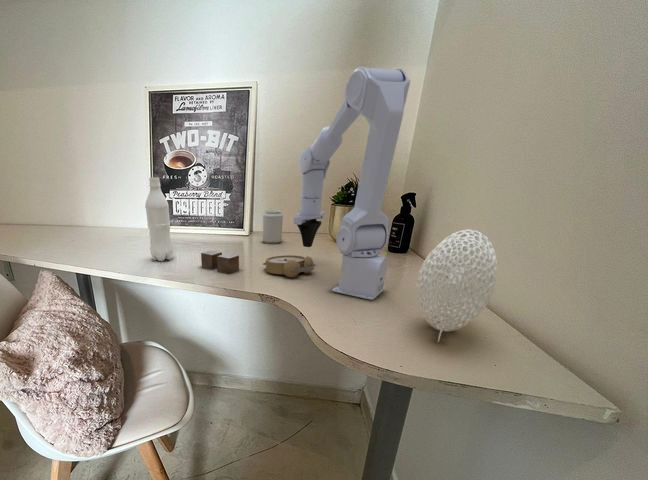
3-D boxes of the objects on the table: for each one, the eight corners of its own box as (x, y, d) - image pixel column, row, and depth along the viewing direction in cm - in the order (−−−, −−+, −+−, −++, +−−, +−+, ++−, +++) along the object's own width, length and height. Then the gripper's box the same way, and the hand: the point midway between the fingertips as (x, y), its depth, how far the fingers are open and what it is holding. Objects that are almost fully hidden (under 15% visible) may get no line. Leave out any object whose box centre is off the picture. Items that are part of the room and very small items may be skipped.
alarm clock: (285, 253, 101) (324, 254, 89) (286, 270, 103) (325, 272, 90) (256, 259, 96) (294, 261, 83) (258, 276, 97) (295, 280, 85)
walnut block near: (239, 270, 97) (239, 255, 95) (229, 273, 94) (229, 258, 92) (227, 267, 99) (227, 253, 98) (217, 271, 96) (217, 256, 94)
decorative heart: (419, 308, 69) (438, 223, 62) (482, 321, 63) (511, 228, 56) (395, 341, 56) (417, 239, 49) (471, 361, 50) (508, 248, 43)
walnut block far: (222, 266, 101) (221, 252, 99) (212, 269, 98) (211, 255, 96) (211, 264, 103) (211, 250, 101) (201, 267, 100) (200, 252, 98)
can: (259, 240, 134) (260, 209, 129) (276, 239, 136) (277, 208, 131) (267, 244, 128) (268, 212, 123) (284, 243, 130) (286, 210, 125)
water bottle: (175, 260, 108) (168, 177, 98) (153, 263, 106) (143, 178, 96) (170, 255, 114) (163, 176, 104) (149, 258, 112) (140, 177, 102)
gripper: (310, 195, 100) (307, 240, 105) (285, 199, 90) (282, 249, 95) (332, 196, 96) (327, 243, 101) (308, 200, 86) (304, 252, 91)
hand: (307, 246), depth 98 cm, fingers closed
